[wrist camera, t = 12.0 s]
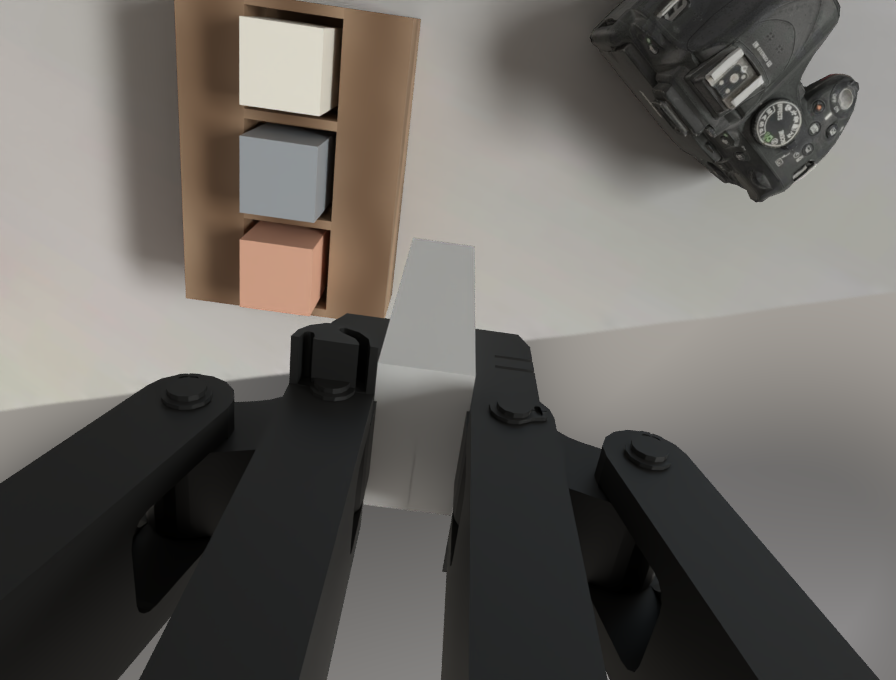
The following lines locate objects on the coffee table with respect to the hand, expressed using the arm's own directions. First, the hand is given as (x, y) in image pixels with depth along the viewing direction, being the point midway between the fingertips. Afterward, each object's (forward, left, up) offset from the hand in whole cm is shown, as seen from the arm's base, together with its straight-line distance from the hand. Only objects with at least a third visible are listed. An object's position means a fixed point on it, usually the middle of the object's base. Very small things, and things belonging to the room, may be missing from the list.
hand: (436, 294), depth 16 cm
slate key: (-9, -2, -24) cm, 26 cm away
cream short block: (-9, +3, -24) cm, 26 cm away
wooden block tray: (-9, -2, -26) cm, 28 cm away
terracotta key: (-9, -8, -24) cm, 27 cm away
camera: (+13, +6, -27) cm, 30 cm away
